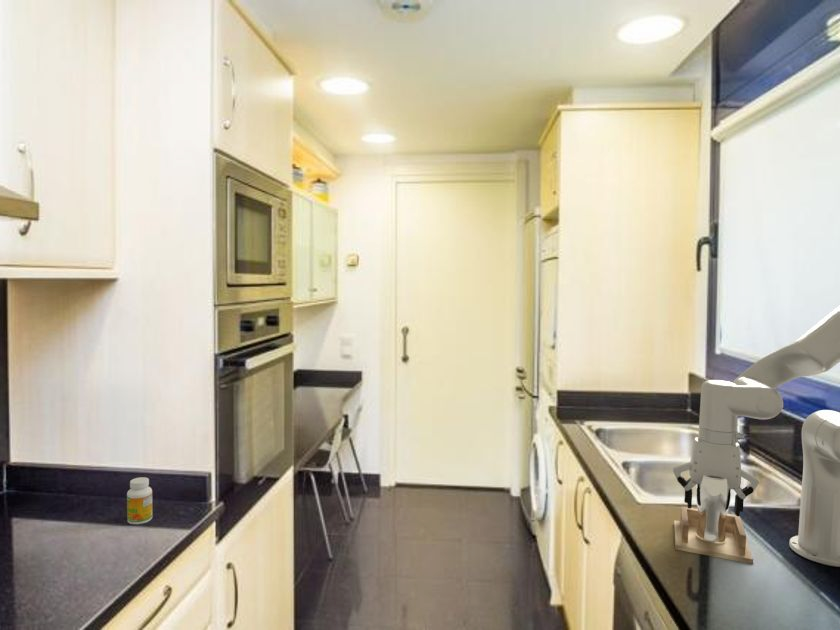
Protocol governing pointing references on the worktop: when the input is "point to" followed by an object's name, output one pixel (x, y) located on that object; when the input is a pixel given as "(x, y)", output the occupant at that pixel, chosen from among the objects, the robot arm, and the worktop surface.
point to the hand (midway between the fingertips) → (712, 510)
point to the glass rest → (689, 542)
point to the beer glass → (712, 509)
